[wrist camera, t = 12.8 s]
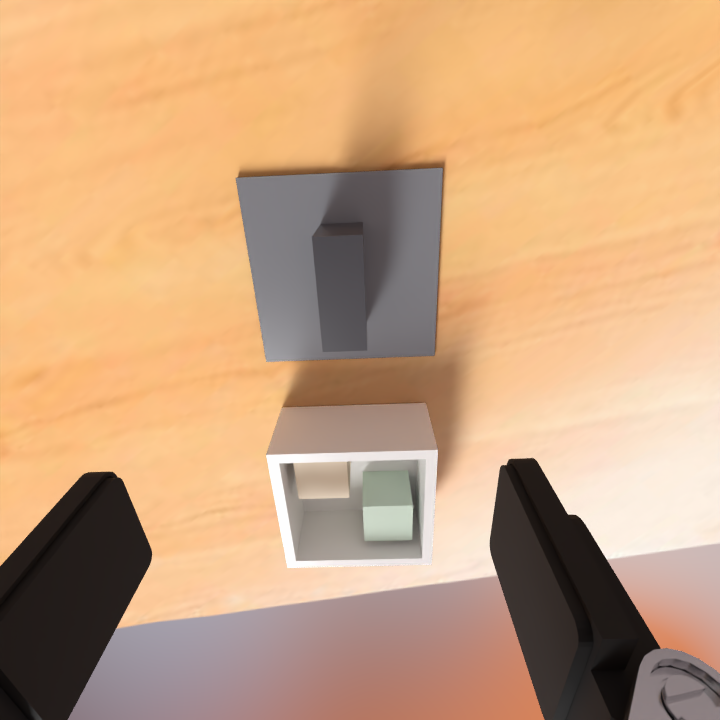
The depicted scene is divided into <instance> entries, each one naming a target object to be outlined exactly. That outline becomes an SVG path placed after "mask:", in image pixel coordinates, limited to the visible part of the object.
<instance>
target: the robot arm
mask: <svg viewBox="0 0 720 720" xmlns="http://www.w3.org/2000/svg"><path fill="white" fill-rule="evenodd" d="M490 551H491V556H492V559H493V562H494V565H495V569H496V572H497V575H498V578H499V581H500V584H501V587H502V590H503V593H504V596H505V600H506V603H507V606H508V609H509V612H510V615H511V618H512V621H513V624H514V627H515V631H516V634H517V637H518V640H519V643H520V646H521V649H522V652H523V655H524V658H525V662H526V665H527V668H528V671H529V674H530V677H531V680H532V683H533V686H534V689H535V692H536V696H537V699H538V701H539V705H540V708H541V711H542V714H543V717H544V719H545V720H720V674H719V673H718V672H717V671H716V670H715V669H713V668H712V667H710V666H708V665H707V664H706V663H704V662H703V661H701V660H700V659H698V658H696V657H693V656H691V655H689V654H687V653H685V652H682V651H678V650H673V649H668V648H665V649H660V646H659V645H658V643H657V642H656V640H655V639H654V637H653V635H652V633H651V632H650V630H649V628H648V627H647V625H646V624H645V622H644V620H643V619H642V617H641V615H640V614H639V612H638V610H637V609H636V607H635V605H634V604H633V602H632V601H631V599H630V597H629V596H628V594H627V592H626V591H625V589H624V587H623V586H622V584H621V582H620V581H619V579H618V578H617V576H616V574H615V573H614V571H613V569H612V568H611V566H610V564H609V563H608V561H607V559H606V558H605V556H604V555H603V553H602V551H601V550H600V548H599V546H598V545H597V543H596V541H595V540H594V538H593V536H592V535H591V533H590V532H589V530H588V528H587V527H586V525H585V524H584V522H583V521H582V520H581V518H579V517H578V516H577V515H568V514H567V512H566V511H565V509H564V507H563V505H562V504H561V502H560V500H559V499H558V497H557V495H556V493H555V492H554V490H553V488H552V486H551V485H550V483H549V481H548V479H547V478H546V476H545V474H544V473H543V471H542V469H541V467H540V466H539V464H538V462H537V461H536V460H535V459H534V458H527V459H509V461H508V463H507V465H502V466H501V467H500V472H499V479H498V487H497V494H496V501H495V508H494V515H493V522H492V529H491V536H490ZM151 559H152V550H151V547H150V545H149V543H148V540H147V538H146V535H145V533H144V531H143V528H142V526H141V523H140V521H139V519H138V516H137V514H136V511H135V509H134V506H133V504H132V502H131V499H130V497H129V494H128V492H127V490H126V487H125V485H124V482H123V481H122V479H121V478H118V477H117V476H116V474H115V473H113V472H88V473H85V474H84V475H82V476H81V477H80V478H79V479H78V481H77V482H76V483H75V484H74V485H73V486H72V487H71V488H70V489H69V491H68V492H67V493H66V494H65V495H64V496H63V497H62V498H61V499H60V501H59V502H58V503H57V504H56V505H55V506H54V507H53V508H52V509H51V511H50V512H49V513H48V514H47V515H46V516H45V517H44V518H43V519H42V521H41V522H40V523H39V524H38V525H37V526H36V527H35V528H34V529H33V531H32V532H31V533H30V534H29V535H28V536H27V537H26V538H25V540H24V541H23V542H22V543H21V544H20V545H19V546H18V547H17V548H16V550H15V551H14V552H13V553H12V554H11V555H10V556H9V557H8V558H7V560H6V561H5V562H4V563H3V564H2V565H1V566H0V720H67V719H68V718H69V716H70V714H71V712H72V710H73V708H74V707H75V705H76V703H77V701H78V699H79V697H80V695H81V693H82V692H83V690H84V688H85V686H86V684H87V682H88V680H89V678H90V676H91V674H92V673H93V671H94V669H95V667H96V665H97V663H98V661H99V660H100V658H101V656H102V654H103V652H104V650H105V648H106V646H107V644H108V643H109V641H110V639H111V637H112V635H113V633H114V631H115V629H116V628H117V626H118V624H119V622H120V620H121V618H122V616H123V614H124V612H125V611H126V609H127V607H128V605H129V603H130V601H131V599H132V597H133V596H134V594H135V592H136V590H137V588H138V586H139V584H140V582H141V580H142V579H143V577H144V575H145V573H146V571H147V569H148V567H149V565H150V563H151Z"/></svg>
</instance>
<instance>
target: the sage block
mask: <svg viewBox="0 0 720 720" xmlns="http://www.w3.org/2000/svg"><path fill="white" fill-rule="evenodd" d="M363 523H364V540H365V541H399V540H412V526H413V502H412V495H411V488H410V481H409V474H408V470H402V471H366V472H363Z"/></svg>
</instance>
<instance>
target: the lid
mask: <svg viewBox="0 0 720 720" xmlns="http://www.w3.org/2000/svg"><path fill="white" fill-rule="evenodd" d="M442 176H443V168H427V169H406V170H385V171H364V172H344V173H323V174H302V175H281V176H260V177H239V178H236V183H237V189H238V195H239V201H240V207H241V213H242V219H243V225H244V231H245V237H246V243H247V249H248V255H249V261H250V267H251V273H252V279H253V285H254V291H255V297H256V303H257V309H258V315H259V321H260V327H261V333H262V339H263V345H264V351H265V357H266V362H275V361H302V360H330V359H358V358H386V357H414V356H434V355H435V333H436V310H437V288H438V266H439V243H440V221H441V199H442Z"/></svg>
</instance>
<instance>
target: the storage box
mask: <svg viewBox="0 0 720 720" xmlns="http://www.w3.org/2000/svg"><path fill="white" fill-rule="evenodd" d="M266 457H267V462H268V467H269V473H270V478H271V483H272V488H273V494H274V499H275V504H276V509H277V515H278V520H279V525H280V530H281V536H282V541H283V546H284V551H285V557H286V562H287V567H288V568H298V567H345V566H392V565H432V550H433V532H434V514H435V496H436V478H437V460H438V448H437V444H436V440H435V436H434V432H433V428H432V424H431V421H430V417H429V413H428V409H427V405H426V403H402V404H372V405H341V406H310V407H282V409H281V412H280V415H279V418H278V421H277V424H276V427H275V430H274V433H273V436H272V439H271V442H270V445H269V448H268V451H267V454H266ZM348 461H351V471H350V495H349V498H322V499H299V497H298V491H297V484H296V478H295V471H294V465H293V463H313V462H348ZM402 470H408V474H409V481H410V488H411V495H412V502H413V526H412V540H399V541H365V540H364V523H363V472H366V471H402Z"/></svg>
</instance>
